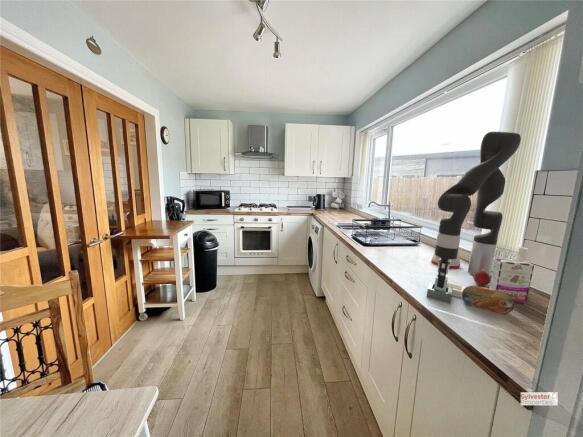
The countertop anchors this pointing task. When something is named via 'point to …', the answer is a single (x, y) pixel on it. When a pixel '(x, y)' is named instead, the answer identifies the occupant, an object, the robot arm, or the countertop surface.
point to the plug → (444, 284)
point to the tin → (488, 299)
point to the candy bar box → (512, 278)
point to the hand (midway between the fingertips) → (440, 283)
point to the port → (439, 293)
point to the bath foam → (522, 254)
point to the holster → (456, 289)
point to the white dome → (454, 262)
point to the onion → (482, 278)
